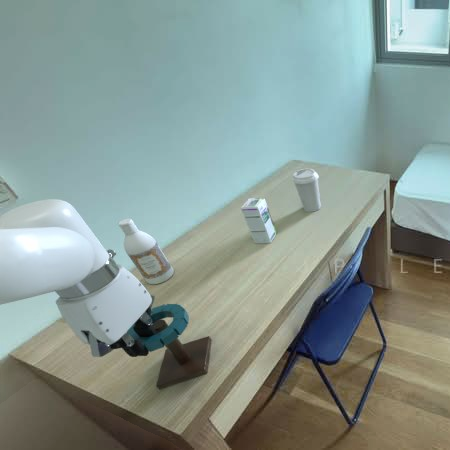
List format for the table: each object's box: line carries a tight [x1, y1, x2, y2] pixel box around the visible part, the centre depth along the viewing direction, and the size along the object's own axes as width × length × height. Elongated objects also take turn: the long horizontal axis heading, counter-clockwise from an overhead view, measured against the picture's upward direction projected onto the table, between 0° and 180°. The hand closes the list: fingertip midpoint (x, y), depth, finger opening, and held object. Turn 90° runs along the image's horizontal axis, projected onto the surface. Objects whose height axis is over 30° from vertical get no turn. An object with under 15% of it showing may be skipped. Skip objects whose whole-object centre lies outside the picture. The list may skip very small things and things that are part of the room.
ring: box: [128, 303, 190, 353], centre depth 61 cm, size 10×10×2 cm
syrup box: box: [240, 197, 278, 244], centre depth 102 cm, size 6×6×14 cm
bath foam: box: [117, 218, 175, 285], centre depth 86 cm, size 7×7×20 cm
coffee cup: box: [291, 168, 322, 213], centre depth 118 cm, size 10×10×15 cm
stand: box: [152, 319, 212, 390], centre depth 65 cm, size 9×9×14 cm
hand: (146, 346), depth 58 cm, fingers closed on ring, 2 cm apart
